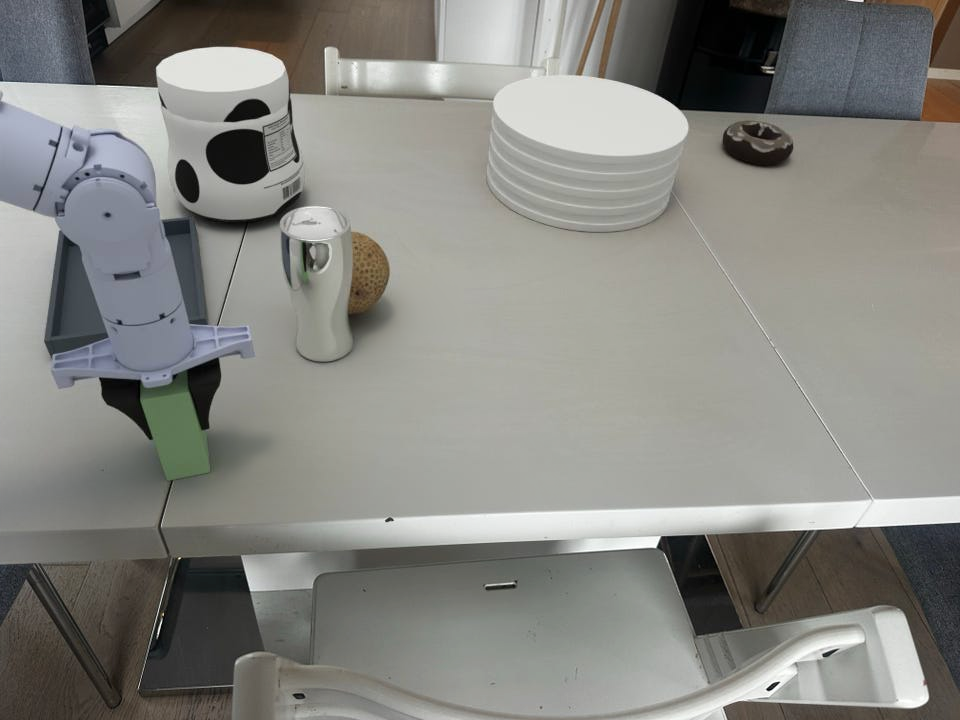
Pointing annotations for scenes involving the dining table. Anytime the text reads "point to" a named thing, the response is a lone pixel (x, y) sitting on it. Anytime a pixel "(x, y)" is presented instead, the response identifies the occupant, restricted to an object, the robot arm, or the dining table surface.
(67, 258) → the dark grey tray
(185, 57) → the milk container
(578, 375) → the dining table surface
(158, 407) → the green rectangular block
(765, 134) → the donut
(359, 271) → the natural sponge
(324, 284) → the beer glass
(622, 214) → the plate stack
